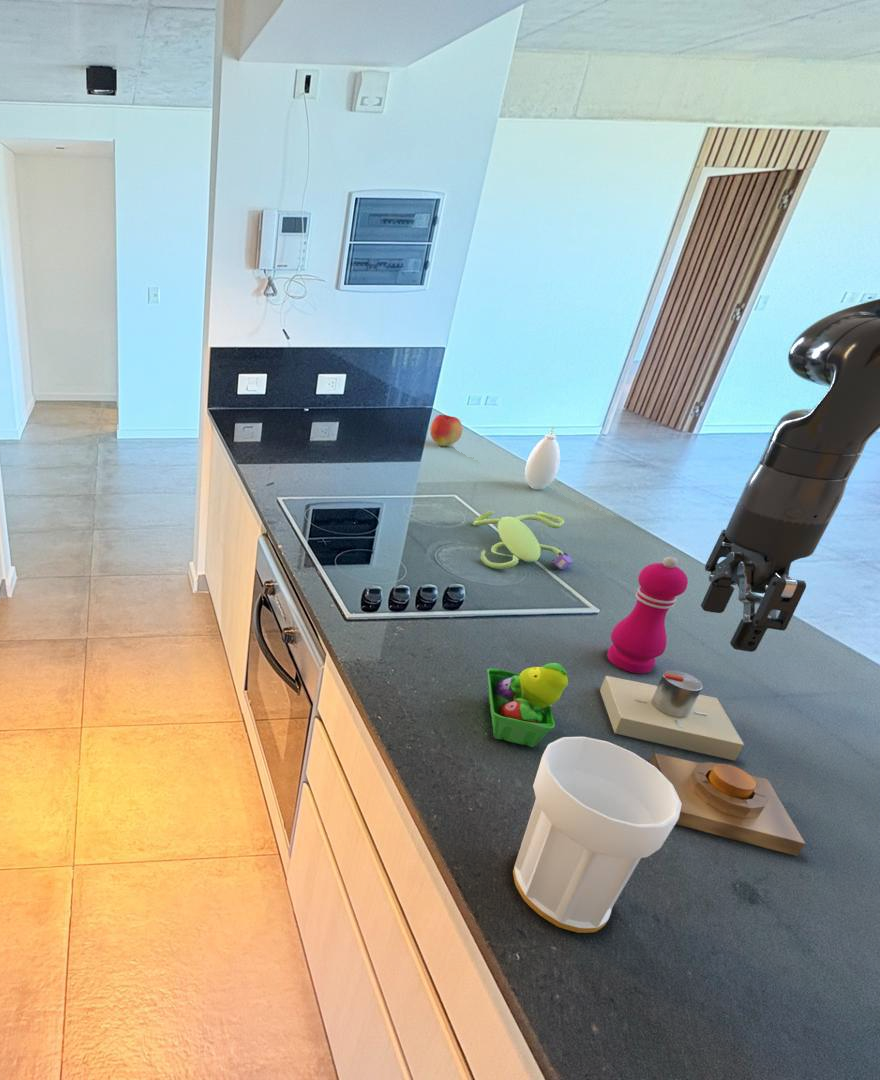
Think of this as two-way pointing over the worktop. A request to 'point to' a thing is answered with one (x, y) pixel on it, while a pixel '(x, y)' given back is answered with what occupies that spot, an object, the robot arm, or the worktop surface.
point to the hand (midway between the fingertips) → (725, 628)
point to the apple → (446, 430)
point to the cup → (590, 830)
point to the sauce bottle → (543, 462)
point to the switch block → (729, 807)
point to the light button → (732, 781)
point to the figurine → (521, 539)
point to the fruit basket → (525, 702)
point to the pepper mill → (647, 618)
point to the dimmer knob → (676, 693)
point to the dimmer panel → (669, 720)
